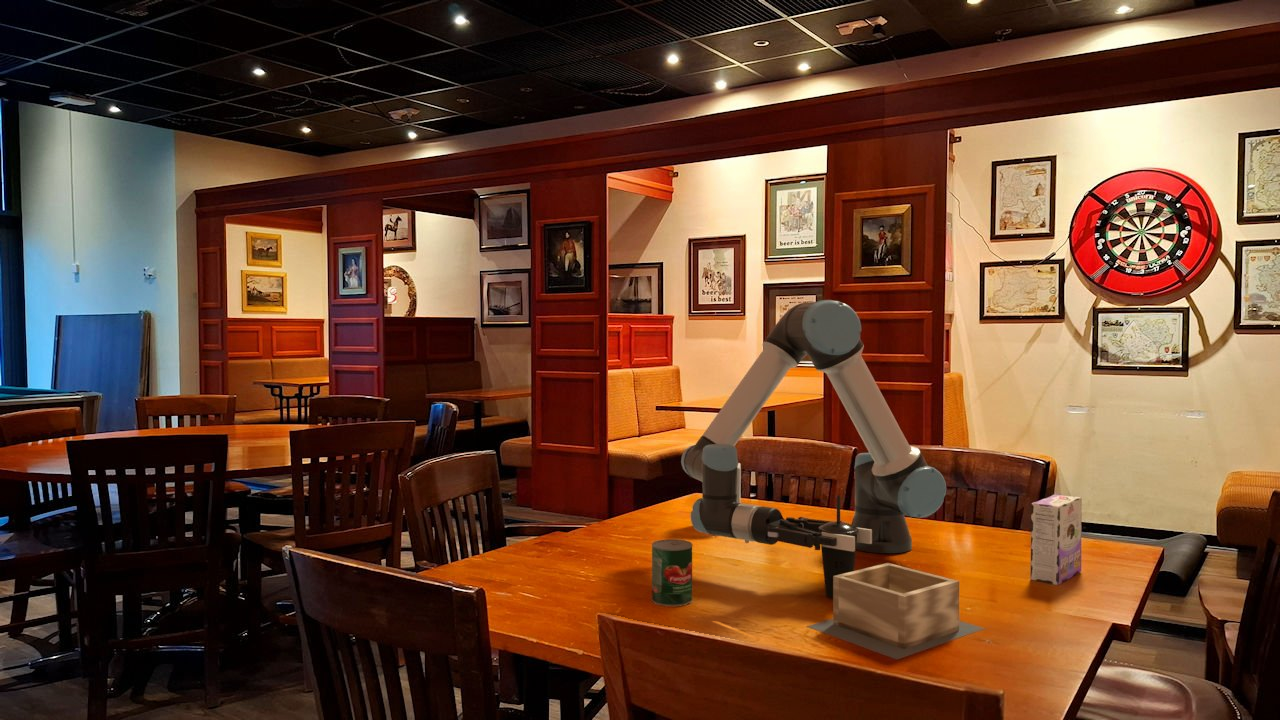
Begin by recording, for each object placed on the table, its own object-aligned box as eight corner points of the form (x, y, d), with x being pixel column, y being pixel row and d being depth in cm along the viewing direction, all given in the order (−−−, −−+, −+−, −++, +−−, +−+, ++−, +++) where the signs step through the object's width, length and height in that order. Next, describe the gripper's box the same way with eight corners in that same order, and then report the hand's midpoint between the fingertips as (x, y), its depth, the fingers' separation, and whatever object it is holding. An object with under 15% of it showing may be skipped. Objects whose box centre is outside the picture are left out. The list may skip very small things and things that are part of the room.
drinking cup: (813, 592, 168) (813, 492, 168) (851, 591, 169) (851, 491, 168) (825, 604, 161) (825, 500, 160) (864, 603, 161) (864, 499, 161)
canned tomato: (679, 609, 158) (679, 550, 158) (644, 602, 163) (643, 545, 162) (699, 598, 165) (699, 542, 165) (665, 592, 169) (664, 537, 169)
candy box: (1053, 567, 187) (1054, 493, 186) (1082, 572, 182) (1083, 496, 182) (1029, 580, 177) (1029, 501, 177) (1058, 585, 173) (1059, 505, 172)
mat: (894, 603, 162) (894, 601, 162) (985, 630, 146) (985, 628, 146) (806, 628, 148) (806, 626, 148) (896, 661, 132) (897, 659, 132)
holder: (887, 608, 157) (887, 562, 157) (959, 630, 145) (959, 581, 145) (833, 624, 149) (833, 576, 148) (904, 649, 136) (904, 596, 136)
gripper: (782, 533, 184) (883, 549, 169) (732, 551, 169) (839, 570, 154) (782, 499, 184) (884, 512, 169) (732, 513, 168) (839, 529, 154)
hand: (862, 540), depth 162 cm, fingers closed on drinking cup, 7 cm apart
